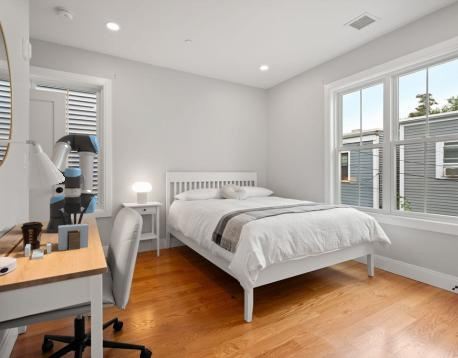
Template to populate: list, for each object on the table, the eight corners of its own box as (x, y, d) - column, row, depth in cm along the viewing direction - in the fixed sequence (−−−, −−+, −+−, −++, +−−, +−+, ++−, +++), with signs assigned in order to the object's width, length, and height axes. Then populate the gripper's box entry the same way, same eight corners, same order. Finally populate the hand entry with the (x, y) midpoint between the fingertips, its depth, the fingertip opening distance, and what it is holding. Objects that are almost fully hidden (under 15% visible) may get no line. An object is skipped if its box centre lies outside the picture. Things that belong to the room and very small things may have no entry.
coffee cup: (39, 245, 132) (39, 220, 131) (45, 248, 127) (46, 222, 127) (18, 249, 124) (18, 223, 124) (24, 252, 120) (24, 225, 119)
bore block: (58, 248, 128) (58, 225, 128) (87, 244, 135) (87, 223, 135) (58, 250, 124) (58, 227, 123) (88, 247, 131) (88, 225, 131)
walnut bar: (66, 244, 136) (66, 229, 136) (76, 242, 139) (76, 228, 138) (68, 250, 125) (69, 234, 124) (79, 249, 127) (79, 233, 127)
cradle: (26, 252, 120) (26, 244, 120) (51, 249, 125) (51, 241, 125) (23, 260, 109) (23, 251, 109) (50, 257, 114) (50, 248, 114)
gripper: (58, 197, 132) (57, 242, 132) (86, 196, 139) (86, 239, 139) (58, 196, 138) (57, 239, 138) (85, 195, 145) (85, 236, 145)
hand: (72, 239), depth 139 cm, fingers closed
